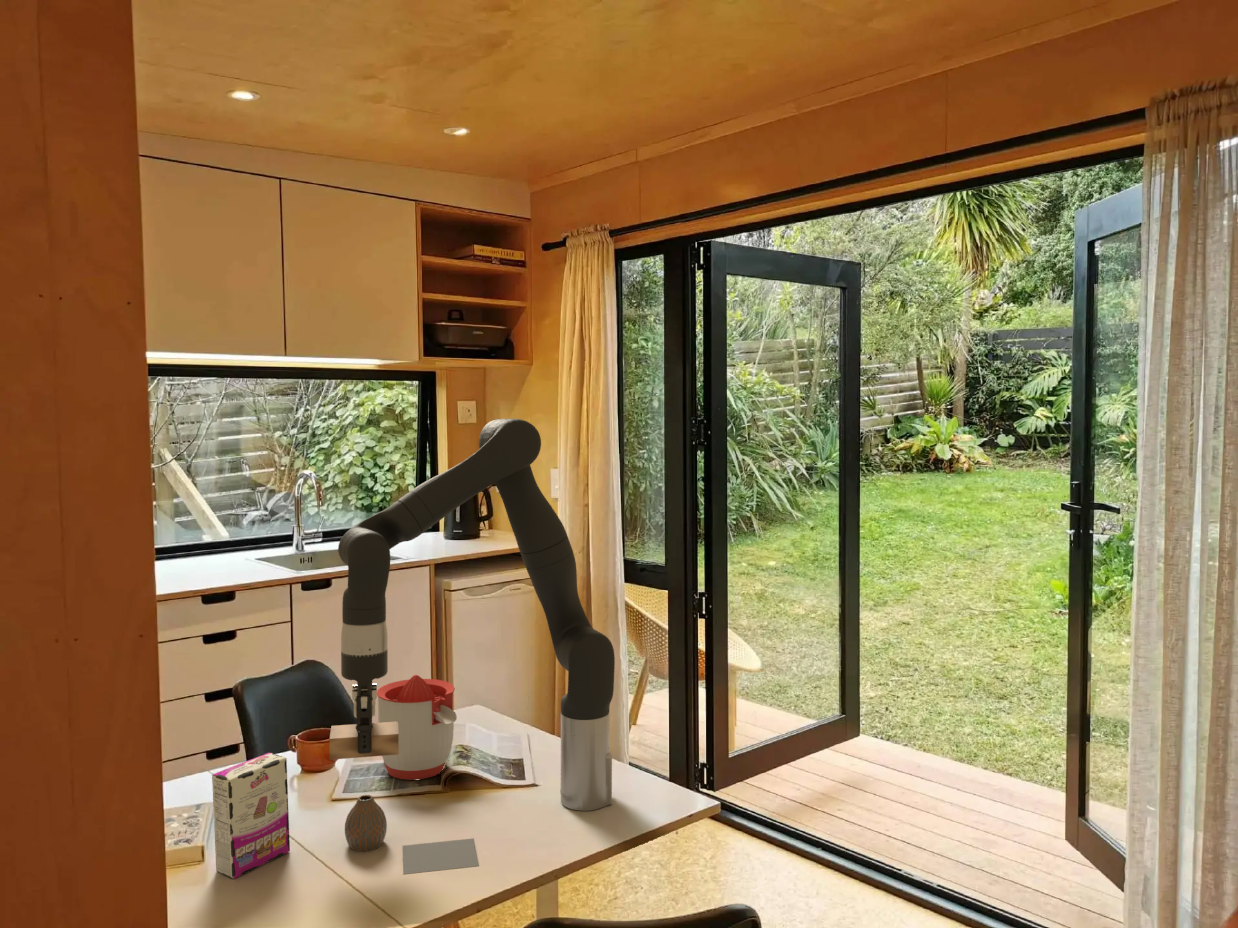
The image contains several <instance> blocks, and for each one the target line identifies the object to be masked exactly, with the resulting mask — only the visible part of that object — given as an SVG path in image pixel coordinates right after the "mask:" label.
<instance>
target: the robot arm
mask: <svg viewBox="0 0 1238 928" xmlns="http://www.w3.org/2000/svg"><path fill="white" fill-rule="evenodd" d="M478 438H479V439H478V448H479V449H477V451H476V452H474V453H472V454H471V455H470V456H469V457H467V458H466V459H464V460H463V461H461V462H460V463H458V464H456V465H455V466H453V467H451V468H449V469H447V470H445V471H443V472H441V473H439V474H438V475H435V476H433V477H432V478H429V479H427V480H426V481H424V482H422V483H421V484H419V485H417V486H416V487H414V488H413V489H411V490H410V491H408V492H407V493H406V494H405V495H402V497H400V498H399V499H398V500H396V501H395V502H393V503H392V504H391V505H389V506H388V507H387V508H385V509H383V510H382V511H378V512H377V513H375V514H373V515H372V516H370V517H368V518H365V519H364V520H362V521H360V522H359V523H357V524H355V525H354V526H352V527H350V528H349V530H347V531H346V532H345V533H344V534H343V536H342V537H340V540H339V543H338V549H337V553H338V556H339V558H340V560H341V561H342V562H343V564H345V565H346V566H347V569H348V571H347V573H348V575H347V588H346V589H345V590H344V592H343V593H342V594H343V596H342V613H341V614H342V616H341V617H342V618H341V619H342V627H341V633H340V645H341V646H340V658H341V660H340V665H341V666H340V671H341V677H342V678H344V679H345V680H349V681H355V682H356V683H357V684H352V691H351V693H352V694H351V695H352V701H353V716H354V718H356V724H357V726H356V730H357V732H358V753H359V754H364V753H370V752H371V750H372V734H371V731H372V728H373V725H372V723H373V717H375V715H376V699H378V696H377V691H378V688H377V687H378V686H377V685H378V684H377V683H373V681H374V680H375V679H376V680H378V679H381V678H383V677H385V676H386V675H387V674H388V669H389V666H388V663H389V662H388V657H389V656H388V654H389V653H388V637H389V636H388V629H387V627H388V626H387V619H386V618H387V605H386V604H387V602H386V601H387V599H386V592H387V588H388V581H389V576H390V575H389V574H390V569H391V550H392V548H394V547H396V546H398V545H399V544H401V543H404V542H410V541H413V540H415V539H416V538H418V537H419V536H421V535H422V534H423V533H425V532H426V531H427V530H429V529H430V528H432V527H433V526H435V524H437V523H438V522H441V520H442V519H444V518H445V517H446V516H448V515H449V514H450V513H452V512H453V511H455V510H456V509H458V508H459V507H460V506H461V505H463V504H464V503H466V502H467V501H468V500H470V499H472V498H473V497H474V496H476V495H478V494H479V493H480V492H482V491H483V490H485V489H488V488H489V487H491V486H493V485H494V484H495V486H496V488H497V491H498V493H499V496H500V498H501V501H502V503H503V506H504V509H505V512H506V515H507V519H508V520H509V524H510V527H511V529H512V532H513V535H514V538H515V541H516V544H517V547H518V550H519V552H520V555H521V559H522V561H523V565H524V567H525V569H526V572H527V574H528V576H529V578H530V582H531V583H532V587H533V589H534V591H535V593H536V596H537V599H538V600H539V602H540V604H541V607H542V609H543V612H544V616H545V618H546V622H547V626H548V629H549V634H550V638H551V641H552V647H553V650H554V654H555V658H556V659H557V661H558V663H559V665H561V667H562V668H563V669H565V670H566V671H567V672H568V674H567V678H568V679H567V693H566V694H564V695H563V696H562V697H561V699H560V793H559V794H560V803H561V806H563V807H566V808H568V809H570V810H575V811H594V810H599V809H601V808H603V807H606V806H610V805H613V757H612V755H613V754H612V753H611V752H610V705H611V702H612V700H613V698H614V691H615V689H614V688H615V687H614V686H615V669H616V667H615V663H616V661H615V660H616V657H615V649H614V647H613V644H612V641H611V640H610V639H609V637H607V636H606V635H605V634H604V633H602V632H600V631H599V630H596V629H595V628H593V626H592V625H591V623H590V621H589V619H588V616H587V615H586V612H585V610H584V608H583V606H582V605H583V604H582V602H581V600H580V597H579V592H578V577H577V576H578V575H577V574H578V573H577V570H578V569H577V563H576V562H577V561H576V557H575V553H574V550H573V548H572V544H571V542H570V539H569V536H568V533H567V531H566V529H565V527H564V524H563V522H562V521H561V519H560V517H559V516H558V514H557V513H556V512H555V509H554V507H552V505H551V504H550V502H549V501H548V500H547V498H546V496H545V495H544V494H543V492H542V491H541V489H540V487H539V485H538V483H537V481H536V479H535V476H534V473H533V470H532V466H531V465H532V464H534V462H535V461H536V459H537V458H538V456H539V454H540V451H541V448H542V439H541V434H540V433H539V431H538V429H537V428H536V426H535V425H533V424H532V423H531V422H529V421H527V420H524V419H520V418H498V419H494V420H490V421H489V422H488V423H486V424H485V425H484V426H483V428H482V430H481V431H480V433H479V437H478Z"/></svg>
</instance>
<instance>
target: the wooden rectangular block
mask: <svg viewBox="0 0 1238 928" xmlns="http://www.w3.org/2000/svg"><path fill="white" fill-rule="evenodd" d="M372 725H373V728H372V731H371V734H372V750H371V752H370V753H364V754H359V753H358V732H357V730H356V726H357V723H353V724H341V725H331V728H330V733H329V760H343V759H344V760H346V759H357V758H370V757H372V758H373V757H382V756H386V755H399V734H398V721H396V722H382V723H378V722H372Z"/></svg>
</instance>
